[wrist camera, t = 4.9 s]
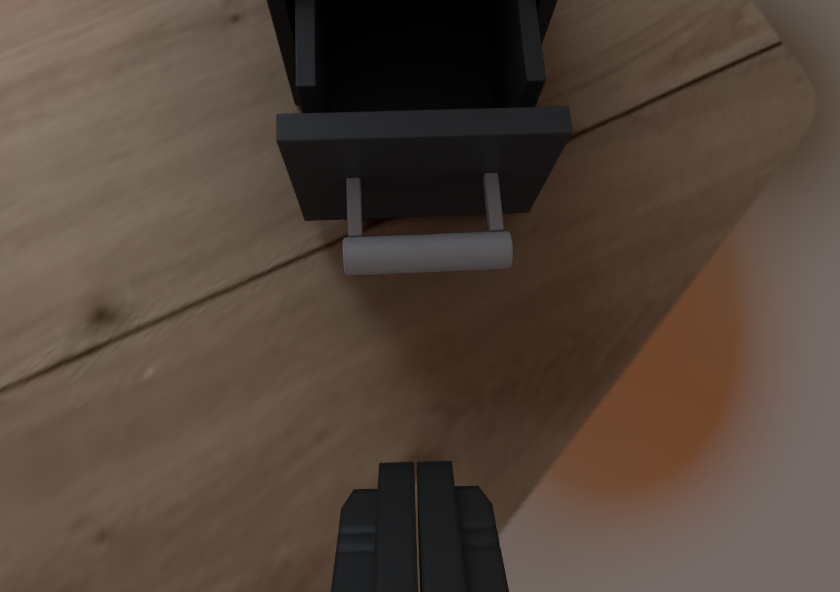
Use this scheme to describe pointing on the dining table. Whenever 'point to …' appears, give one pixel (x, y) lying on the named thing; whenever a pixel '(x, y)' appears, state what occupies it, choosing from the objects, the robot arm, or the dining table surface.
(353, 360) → the dining table surface
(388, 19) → the drawer
